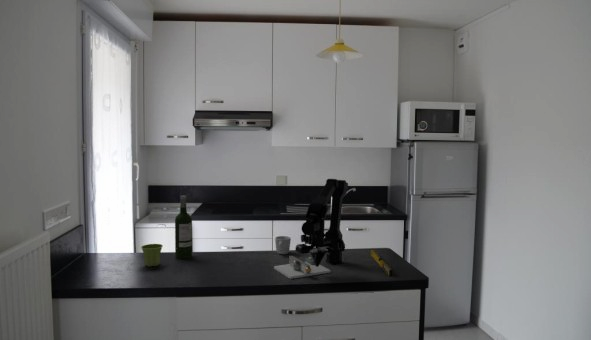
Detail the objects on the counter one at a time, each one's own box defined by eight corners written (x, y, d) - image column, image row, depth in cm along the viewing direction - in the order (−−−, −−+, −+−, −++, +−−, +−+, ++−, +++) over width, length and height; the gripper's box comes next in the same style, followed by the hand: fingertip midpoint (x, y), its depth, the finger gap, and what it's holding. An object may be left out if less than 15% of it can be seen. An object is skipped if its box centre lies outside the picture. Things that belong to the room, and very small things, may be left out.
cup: (287, 257, 209) (287, 241, 209) (271, 256, 211) (272, 240, 210) (291, 251, 220) (292, 236, 219) (277, 250, 221) (277, 235, 221)
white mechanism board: (311, 262, 201) (311, 254, 201) (330, 272, 186) (330, 264, 186) (273, 268, 191) (273, 259, 191) (290, 279, 177) (290, 270, 177)
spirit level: (370, 255, 216) (370, 249, 216) (373, 255, 216) (373, 249, 216) (389, 276, 183) (389, 269, 183) (392, 276, 183) (392, 269, 183)
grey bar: (295, 263, 195) (295, 255, 195) (314, 274, 180) (314, 265, 179) (285, 264, 193) (285, 256, 192) (304, 275, 177) (304, 267, 177)
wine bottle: (183, 259, 202) (182, 197, 200) (171, 257, 207) (171, 196, 204) (195, 256, 209) (195, 195, 207) (184, 253, 213) (183, 194, 211)
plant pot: (136, 266, 191) (136, 247, 191) (151, 260, 200) (150, 242, 199) (153, 269, 188) (153, 249, 187) (167, 263, 197) (167, 244, 196)
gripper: (326, 225, 193) (325, 259, 194) (289, 229, 185) (289, 264, 186) (339, 230, 183) (339, 265, 184) (302, 234, 175) (301, 271, 176)
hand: (317, 266), depth 183 cm, fingers closed
